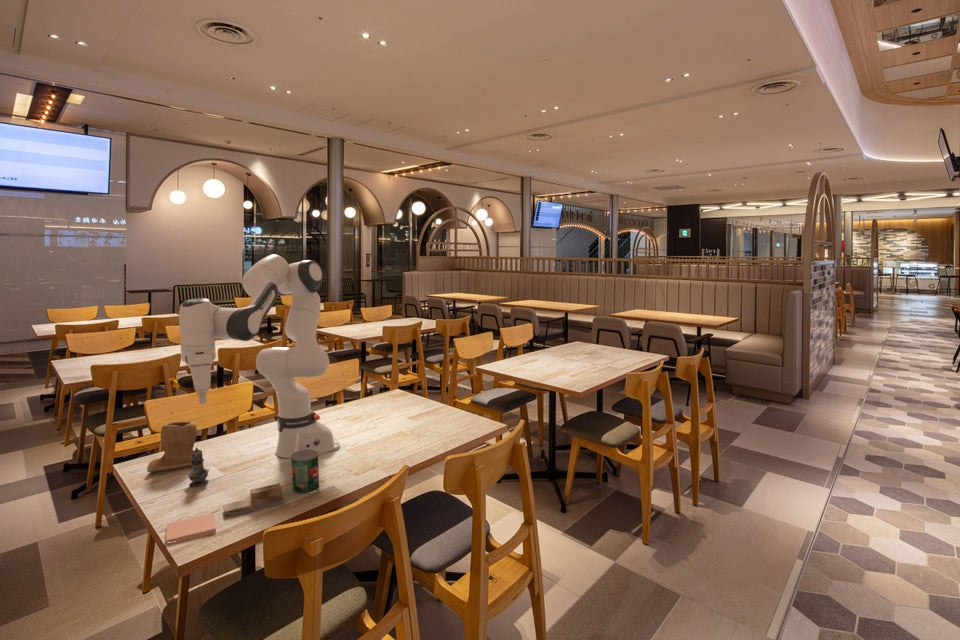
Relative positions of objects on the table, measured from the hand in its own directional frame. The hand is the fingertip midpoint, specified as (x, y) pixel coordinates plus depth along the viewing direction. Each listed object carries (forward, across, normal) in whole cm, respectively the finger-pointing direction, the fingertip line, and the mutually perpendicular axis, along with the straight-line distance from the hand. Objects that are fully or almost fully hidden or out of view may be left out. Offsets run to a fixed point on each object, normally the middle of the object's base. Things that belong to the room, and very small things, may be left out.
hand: (201, 399), depth 146 cm
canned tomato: (+29, +14, +26) cm, 42 cm away
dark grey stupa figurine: (+29, -7, -2) cm, 30 cm away
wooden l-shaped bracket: (+28, +17, +11) cm, 35 cm away
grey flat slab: (+29, +17, +11) cm, 36 cm away
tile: (+29, +22, 0) cm, 36 cm away
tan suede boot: (+29, -26, -8) cm, 40 cm away
